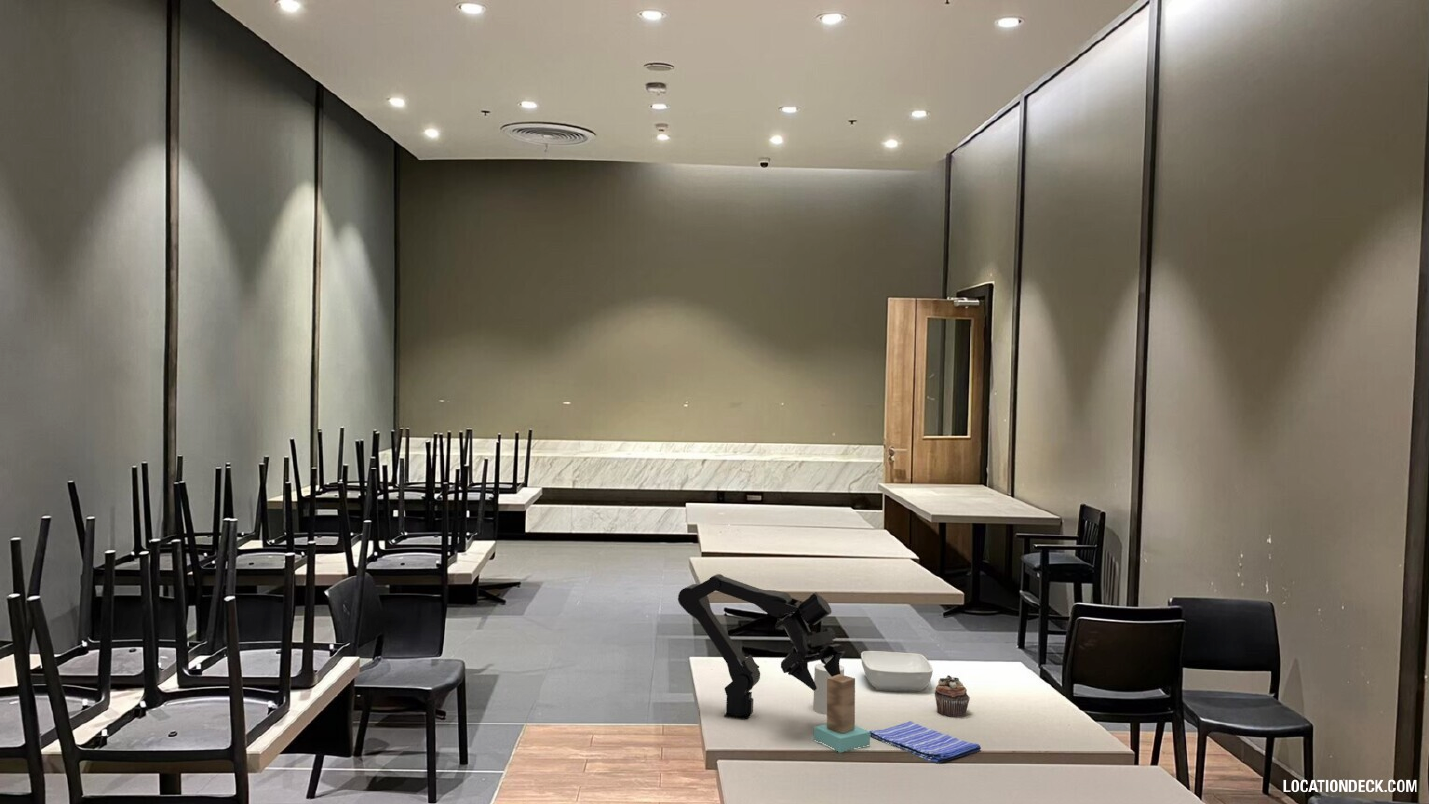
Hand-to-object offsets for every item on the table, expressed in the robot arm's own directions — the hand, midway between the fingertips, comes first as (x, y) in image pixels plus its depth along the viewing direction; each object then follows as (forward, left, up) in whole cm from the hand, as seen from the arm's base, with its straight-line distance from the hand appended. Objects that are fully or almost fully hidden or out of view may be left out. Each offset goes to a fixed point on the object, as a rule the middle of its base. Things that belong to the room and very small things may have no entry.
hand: (828, 686), depth 271 cm
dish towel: (+24, +5, -14) cm, 29 cm away
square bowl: (+11, +54, -13) cm, 57 cm away
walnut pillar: (+4, -3, -9) cm, 11 cm away
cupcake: (+29, +33, -13) cm, 46 cm away
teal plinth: (+4, -3, -14) cm, 15 cm away
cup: (-4, +22, -13) cm, 26 cm away
